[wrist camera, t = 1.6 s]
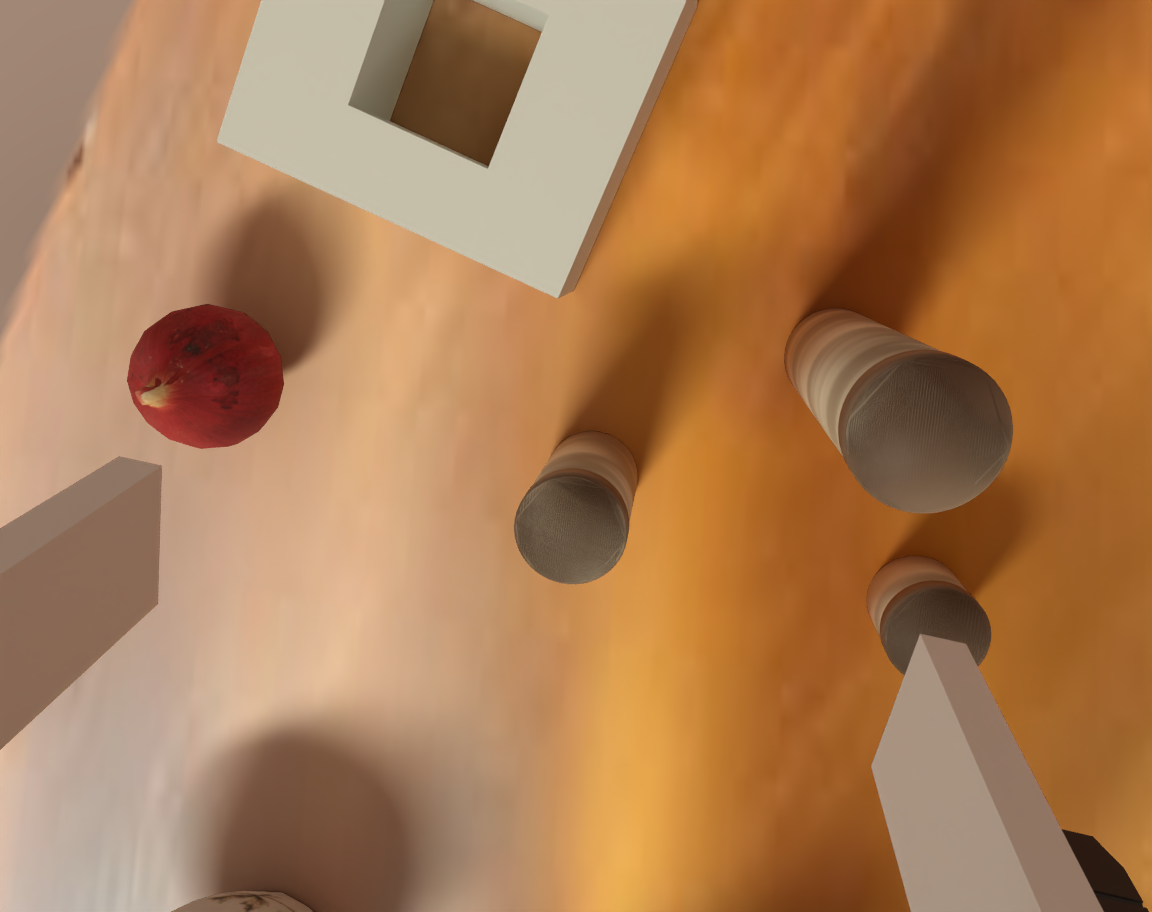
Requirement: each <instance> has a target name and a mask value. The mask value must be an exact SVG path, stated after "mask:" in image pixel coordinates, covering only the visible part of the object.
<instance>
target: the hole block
mask: <svg viewBox="0 0 1152 912" xmlns="http://www.w3.org/2000/svg"><path fill="white" fill-rule="evenodd" d="M433 1H434V0H261V3H260V6H259V9H258V13H257V16H256V19H255V22H254V25H253V28H252V31H251V35H250V38H249V41H248V44H247V47H246V50H245V54H244V57H243V60H242V63H241V66H240V69H239V72H238V76H237V79H236V82H235V85H234V88H233V91H232V94H231V98H230V101H229V104H228V107H227V110H226V113H225V116H224V120H223V123H222V126H221V129H220V132H219V135H218V138H217V142H218V143H220V144H222V145H224V146H226V147H229V148H231V149H233V150H235V151H237V152H239V153H242V154H244V155H246V156H248V157H250V158H253V159H255V160H257V161H259V162H261V163H263V164H266V165H268V166H270V167H272V168H274V169H277V170H279V171H281V172H283V173H285V174H287V175H290V176H292V177H294V178H296V179H298V180H301V181H303V182H305V183H307V184H309V185H311V186H314V187H316V188H318V189H320V190H322V191H325V192H327V193H329V194H331V195H333V196H335V197H338V198H340V199H342V200H344V201H346V202H348V203H351V204H353V205H355V206H357V207H359V208H362V209H364V210H366V211H368V212H370V213H372V214H375V215H377V216H379V217H381V218H383V219H386V220H388V221H390V222H392V223H394V224H396V225H399V226H401V227H403V228H405V229H407V230H410V231H412V232H414V233H416V234H418V235H420V236H423V237H425V238H427V239H429V240H431V241H433V242H436V243H438V244H440V245H442V246H444V247H447V248H449V249H451V250H453V251H455V252H457V253H460V254H462V255H464V256H466V257H468V258H471V259H473V260H475V261H477V262H479V263H481V264H484V265H486V266H488V267H490V268H492V269H495V270H497V271H499V272H501V273H503V274H505V275H508V276H510V277H512V278H514V279H516V280H518V281H521V282H523V283H525V284H527V285H529V286H532V287H534V288H536V289H538V290H540V291H542V292H545V293H547V294H549V295H551V296H553V297H556V298H560V297H562V296H564V295H566V294H568V293H570V292H572V291H574V289H575V286H576V284H577V282H578V280H579V277H580V275H581V273H582V270H583V268H584V266H585V263H586V261H587V259H588V257H589V254H590V252H591V250H592V247H593V245H594V243H595V240H596V238H597V236H598V234H599V231H600V229H601V227H602V224H603V222H604V220H605V217H606V215H607V213H608V211H609V208H610V206H611V204H612V201H613V199H614V197H615V194H616V192H617V190H618V188H619V185H620V183H621V181H622V178H623V176H624V174H625V171H626V169H627V167H628V165H629V162H630V160H631V158H632V155H633V153H634V151H635V148H636V146H637V144H638V142H639V139H640V137H641V135H642V132H643V130H644V128H645V125H646V123H647V121H648V119H649V116H650V114H651V112H652V109H653V107H654V105H655V103H656V100H657V98H658V96H659V93H660V91H661V89H662V86H663V84H664V82H665V80H666V77H667V75H668V73H669V70H670V68H671V66H672V63H673V61H674V59H675V57H676V54H677V52H678V50H679V47H680V45H681V43H682V40H683V38H684V36H685V34H686V31H687V29H688V27H689V24H690V22H691V20H692V17H693V15H694V13H695V11H696V8H697V0H473V1H475V2H477V3H479V4H482V5H484V6H486V7H488V8H490V9H492V10H495V11H497V12H499V13H501V14H503V15H506V16H508V17H510V18H512V19H514V20H517V21H519V22H521V23H523V24H525V25H528V26H530V27H532V28H534V29H536V30H539V31H541V32H542V34H541V36H540V39H539V41H538V44H537V46H536V49H535V51H534V54H533V56H532V59H531V61H530V64H529V66H528V69H527V71H526V74H525V76H524V79H523V81H522V84H521V87H520V89H519V92H518V94H517V97H516V99H515V102H514V104H513V107H512V109H511V112H510V114H509V117H508V119H507V122H506V124H505V127H504V129H503V132H502V134H501V137H500V140H499V142H498V145H497V147H496V150H495V152H494V155H493V157H492V160H491V162H490V165H489V166H487V165H485V164H482V163H480V162H478V161H476V160H474V159H472V158H469V157H467V156H465V155H463V154H461V153H458V152H456V151H454V150H452V149H450V148H448V147H445V146H443V145H441V144H439V143H437V142H434V141H432V140H430V139H428V138H426V137H423V136H421V135H419V134H417V133H415V132H413V131H410V130H408V129H406V128H404V127H402V126H399V125H397V124H395V123H393V122H391V121H390V119H391V116H392V114H393V111H394V108H395V105H396V103H397V100H398V97H399V94H400V92H401V89H402V86H403V84H404V81H405V78H406V75H407V73H408V70H409V67H410V64H411V62H412V59H413V56H414V53H415V51H416V48H417V45H418V42H419V40H420V37H421V34H422V31H423V29H424V26H425V23H426V20H427V18H428V15H429V12H430V9H431V7H432V4H433Z"/></svg>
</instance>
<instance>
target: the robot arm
mask: <svg viewBox="0 0 1152 912" xmlns="http://www.w3.org/2000/svg"><path fill="white" fill-rule="evenodd" d="M161 481H162V466H161V465H156V464H152V463H147V462H143V461H138V460H133V459H129V458H124V457H120V456H119V457H117V458H116V459H114V460H112V461H111V462H109V463H107V464H106V465H104V466H103V467H101V468H99V469H98V470H96V471H94V472H93V473H91V474H89V475H88V476H86V477H84V478H83V479H81V480H79V481H78V482H76V483H74V484H73V485H71V486H69V487H68V488H66V489H65V490H63V491H61V492H60V493H58V494H56V495H55V496H53V497H51V498H50V499H48V500H46V501H45V502H43V503H41V504H40V505H38V506H36V507H35V508H33V509H31V510H30V511H28V512H27V513H25V514H23V515H22V516H20V517H18V518H17V519H15V520H13V521H12V522H10V523H8V524H7V525H5V526H3V527H2V528H0V750H1V749H2V748H3V747H4V746H5V745H6V744H7V743H8V742H9V741H10V740H11V739H12V738H14V737H15V736H16V735H17V734H18V733H19V732H20V731H21V730H22V729H23V728H24V727H25V726H26V725H28V724H29V723H30V722H31V721H32V720H33V719H34V718H35V717H36V716H37V715H38V714H39V713H41V712H42V711H43V710H44V709H45V708H46V707H47V706H48V705H49V704H50V703H51V702H52V701H53V700H55V699H56V698H57V697H58V696H59V695H60V694H61V693H62V692H63V691H64V690H65V689H66V688H68V687H69V686H70V685H71V684H72V683H73V682H74V681H75V680H76V679H77V678H78V677H79V676H81V675H82V674H83V673H84V672H85V671H86V670H87V669H88V668H89V667H90V666H91V665H92V664H93V663H95V662H96V661H97V660H98V659H99V658H100V657H101V656H102V655H103V654H104V653H105V652H106V651H108V650H109V649H110V648H111V647H112V646H113V645H114V644H115V643H116V642H117V641H118V640H119V639H120V638H122V637H123V636H124V635H125V634H126V633H127V632H128V631H129V630H130V629H131V628H132V627H133V626H135V625H136V624H137V623H138V622H139V621H140V620H141V619H142V618H143V617H144V616H145V615H146V614H148V613H149V612H150V611H151V610H152V609H153V608H154V607H155V606H156V605H157V604H158V582H159V548H160V514H161ZM871 768H872V771H873V775H874V779H875V782H876V786H877V790H878V793H879V797H880V801H881V804H882V808H883V812H884V815H885V819H886V823H887V826H888V830H889V834H890V837H891V841H892V845H893V848H894V852H895V856H896V859H897V863H898V866H899V870H900V874H901V877H902V881H903V885H904V888H905V892H906V896H907V899H908V903H909V907H910V910H911V912H1149V911H1148V909H1147V908H1144V907H1143V905H1142V903H1143V901H1142V899H1141V897H1140V895H1139V894H1138V892H1137V890H1136V888H1135V887H1134V885H1133V883H1132V881H1131V880H1130V878H1129V876H1128V874H1127V873H1126V871H1125V869H1124V868H1123V867H1122V866H1121V865H1120V864H1119V863H1118V862H1117V861H1116V860H1115V859H1114V858H1113V857H1112V856H1111V855H1110V854H1109V853H1108V852H1107V851H1106V850H1105V849H1104V848H1103V847H1102V846H1101V844H1100V843H1099V842H1098V841H1097V840H1096V839H1095V838H1094V837H1093V836H1088V835H1084V834H1080V833H1075V832H1071V831H1067V830H1062V829H1061V828H1060V826H1059V824H1058V822H1057V820H1056V818H1055V816H1054V814H1053V812H1052V810H1051V808H1050V806H1049V804H1048V802H1047V800H1046V798H1045V797H1044V795H1043V793H1042V791H1041V789H1040V787H1039V785H1038V783H1037V781H1036V779H1035V777H1034V775H1033V773H1032V771H1031V769H1030V767H1029V765H1028V763H1027V762H1026V760H1025V758H1024V756H1023V754H1022V752H1021V750H1020V748H1019V746H1018V744H1017V742H1016V740H1015V738H1014V736H1013V734H1012V732H1011V730H1010V728H1009V727H1008V725H1007V723H1006V721H1005V719H1004V717H1003V715H1002V713H1001V711H1000V709H999V707H998V705H997V703H996V701H995V699H994V697H993V695H992V693H991V692H990V690H989V688H988V686H987V684H986V682H985V680H984V678H983V676H982V674H981V672H980V670H979V668H978V666H977V664H976V662H975V660H974V658H973V657H972V655H971V653H970V651H969V649H968V647H967V645H966V644H964V643H960V642H955V641H951V640H946V639H942V638H937V637H933V636H928V635H924V634H920V635H919V638H918V641H917V644H916V646H915V649H914V652H913V654H912V657H911V660H910V663H909V665H908V668H907V671H906V673H905V676H904V679H903V681H902V684H901V687H900V690H899V692H898V695H897V698H896V700H895V703H894V706H893V709H892V711H891V714H890V717H889V719H888V722H887V725H886V728H885V730H884V733H883V736H882V738H881V741H880V744H879V747H878V749H877V752H876V755H875V757H874V760H873V763H872V765H871Z"/></svg>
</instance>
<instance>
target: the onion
mask: <svg viewBox="0 0 1152 912" xmlns="http://www.w3.org/2000/svg"><path fill="white" fill-rule="evenodd" d="M127 382H128V385H129V389H130V392H131V396H132V399H133V402H134V404H135V406H136V407H137V409H138V410H139V411H140V413H141V414H142V416H143V417H144V419H145V420H146V422H147V423H148V424H150V425H151V426H152V427H154V428H155V429H156V430H157V431H159V432H160V433H161V434H163V435H164V436H165V437H167V438H168V439H170V440H173V441H177V442H180V443H183V444H186V445H189V446H192V447H196V448H201V449H203V448H215V447H228V446H232V445H235V444H238V443H240V442H241V441H243V440H245V439H247V438H248V437H250V436H252V435H253V434H255V433H257V432H258V431H259V430H260V429H261V428H262V427H263V426H264V425H265V423H266V422H267V421H268V420H269V418H270V417H271V416H272V414H273V413H274V412H275V410H276V409H277V408H278V405H279V401H280V398H281V394H282V390H283V386H284V381H283V372H282V363H281V357H280V355H279V353H278V351H277V349H276V347H275V345H274V343H273V341H272V339H271V337H270V335H269V333H268V332H267V331H266V330H265V329H264V328H262V327H261V326H260V325H259V324H258V323H256V322H255V321H254V320H253V319H252V318H250V317H249V316H248V315H247V314H245V313H243V312H239V311H235V310H231V309H227V308H223V307H219V306H214V305H210V304H205V305H200V306H195V307H191V308H186V309H181V310H177V311H173V312H170V313H169V314H168V315H166V316H165V317H163V318H162V319H161V320H159V321H158V322H156V323H155V324H154V325H152V326H151V327H149V328H148V329H147V330H146V331H144V333H143V335H142V337H141V338H140V340H139V342H138V344H137V346H136V347H135V349H134V351H133V353H132V355H131V358H130V365H129V371H128V378H127Z"/></svg>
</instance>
